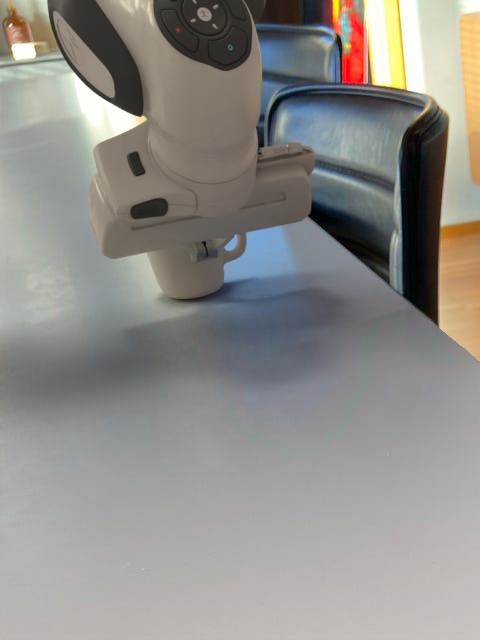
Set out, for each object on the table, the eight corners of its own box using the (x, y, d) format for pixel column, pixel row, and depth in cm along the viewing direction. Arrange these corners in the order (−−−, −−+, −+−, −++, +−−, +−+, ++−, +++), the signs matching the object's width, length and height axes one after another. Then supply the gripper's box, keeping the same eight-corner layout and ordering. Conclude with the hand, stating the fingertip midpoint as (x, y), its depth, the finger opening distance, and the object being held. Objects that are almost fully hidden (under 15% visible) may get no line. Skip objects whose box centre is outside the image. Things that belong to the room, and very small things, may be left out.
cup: (238, 269, 111) (221, 191, 106) (270, 284, 106) (254, 202, 101) (144, 293, 106) (122, 213, 102) (173, 310, 101) (151, 226, 96)
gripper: (305, 110, 91) (292, 206, 104) (73, 148, 85) (90, 246, 98) (330, 171, 91) (314, 260, 104) (98, 214, 84) (112, 303, 97)
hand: (204, 253), depth 101 cm, fingers closed
